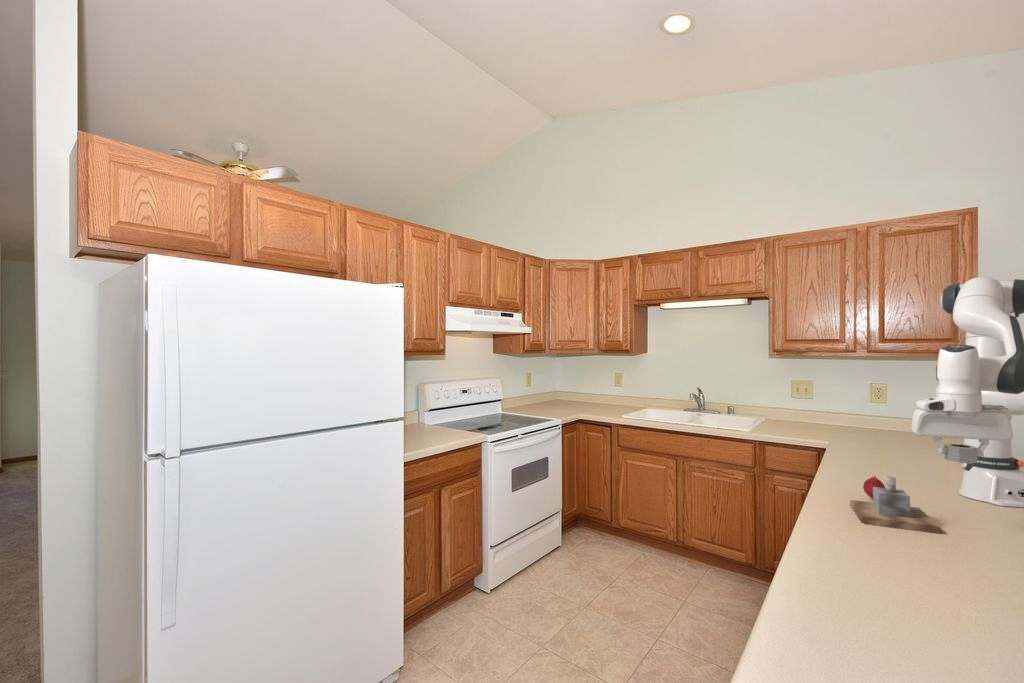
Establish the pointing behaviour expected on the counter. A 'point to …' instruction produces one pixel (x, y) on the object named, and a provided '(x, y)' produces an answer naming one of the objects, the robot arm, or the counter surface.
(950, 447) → the collar
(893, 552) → the counter surface
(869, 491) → the red rounded piece
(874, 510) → the post stand
